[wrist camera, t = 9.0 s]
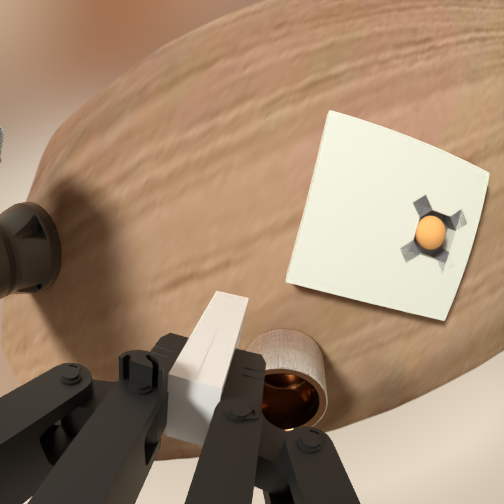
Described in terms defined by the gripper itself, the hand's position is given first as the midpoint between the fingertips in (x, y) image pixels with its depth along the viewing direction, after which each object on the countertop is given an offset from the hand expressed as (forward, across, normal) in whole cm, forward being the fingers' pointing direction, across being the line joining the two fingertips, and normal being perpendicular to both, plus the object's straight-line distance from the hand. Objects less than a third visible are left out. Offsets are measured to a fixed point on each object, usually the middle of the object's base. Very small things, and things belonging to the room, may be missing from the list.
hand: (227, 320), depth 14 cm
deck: (+23, +15, +5) cm, 28 cm away
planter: (+24, +7, -17) cm, 30 cm away
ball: (+21, +20, +5) cm, 29 cm away
